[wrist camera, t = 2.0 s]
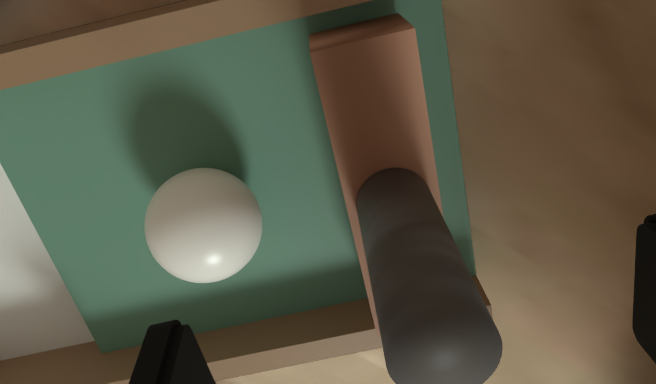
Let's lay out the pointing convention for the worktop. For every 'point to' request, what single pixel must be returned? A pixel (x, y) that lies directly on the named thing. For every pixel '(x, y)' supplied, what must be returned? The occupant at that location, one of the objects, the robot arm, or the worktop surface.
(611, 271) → the worktop surface
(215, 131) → the pitch
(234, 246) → the ball
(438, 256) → the striker
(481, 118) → the worktop surface
